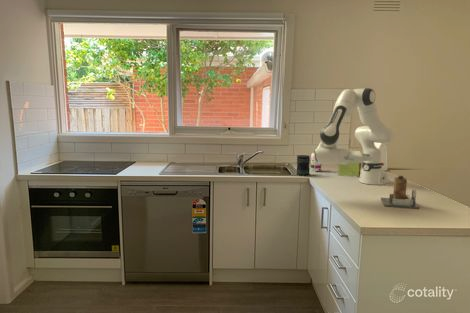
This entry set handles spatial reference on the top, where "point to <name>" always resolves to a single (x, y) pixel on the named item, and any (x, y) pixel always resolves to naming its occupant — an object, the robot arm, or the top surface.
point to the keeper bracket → (401, 201)
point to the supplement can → (315, 164)
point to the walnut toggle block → (400, 187)
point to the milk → (382, 154)
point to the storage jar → (303, 165)
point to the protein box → (349, 169)
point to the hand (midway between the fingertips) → (371, 157)
